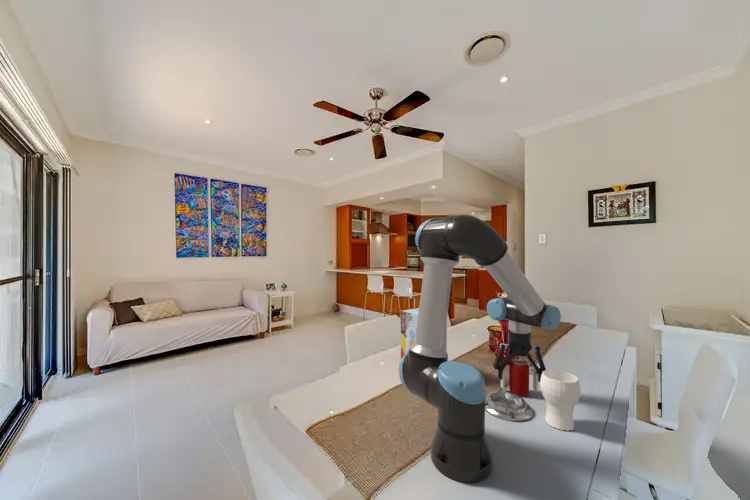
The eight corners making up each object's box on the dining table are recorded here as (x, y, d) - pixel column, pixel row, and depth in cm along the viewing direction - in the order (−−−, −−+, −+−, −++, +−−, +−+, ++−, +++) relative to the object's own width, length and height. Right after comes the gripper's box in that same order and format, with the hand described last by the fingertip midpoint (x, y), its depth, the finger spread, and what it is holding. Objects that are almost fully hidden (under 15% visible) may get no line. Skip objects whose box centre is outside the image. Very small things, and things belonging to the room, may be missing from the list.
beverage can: (529, 391, 112) (530, 360, 112) (528, 399, 106) (528, 366, 106) (510, 386, 116) (510, 356, 116) (507, 394, 110) (508, 362, 110)
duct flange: (540, 423, 91) (540, 415, 91) (487, 419, 94) (487, 410, 94) (522, 398, 107) (522, 390, 107) (477, 394, 109) (477, 387, 109)
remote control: (522, 368, 135) (522, 361, 135) (562, 377, 126) (562, 370, 126) (519, 373, 130) (519, 366, 130) (560, 383, 120) (560, 375, 120)
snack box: (448, 376, 125) (448, 316, 125) (433, 381, 120) (434, 319, 120) (412, 360, 142) (413, 307, 142) (399, 364, 137) (399, 310, 137)
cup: (581, 438, 84) (581, 386, 84) (539, 426, 90) (539, 377, 90) (579, 420, 93) (579, 373, 93) (540, 410, 99) (541, 366, 99)
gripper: (548, 329, 113) (547, 386, 113) (484, 327, 116) (484, 381, 116) (557, 335, 105) (557, 396, 105) (489, 332, 109) (489, 390, 109)
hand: (519, 388), depth 111 cm, fingers open, 11 cm apart
